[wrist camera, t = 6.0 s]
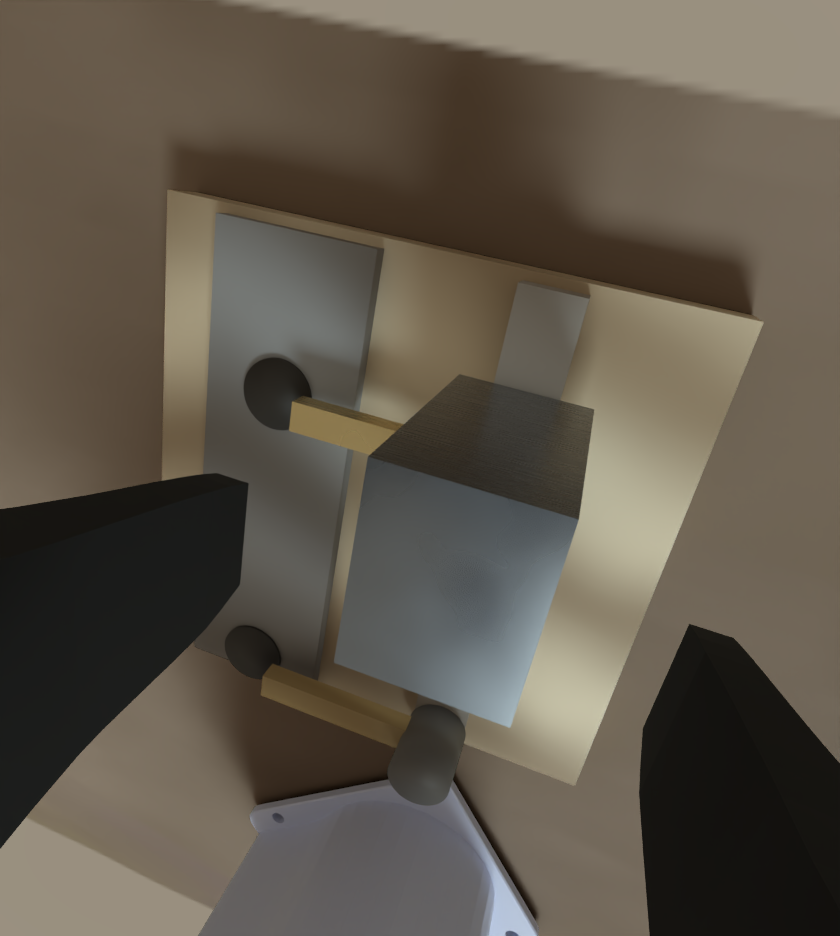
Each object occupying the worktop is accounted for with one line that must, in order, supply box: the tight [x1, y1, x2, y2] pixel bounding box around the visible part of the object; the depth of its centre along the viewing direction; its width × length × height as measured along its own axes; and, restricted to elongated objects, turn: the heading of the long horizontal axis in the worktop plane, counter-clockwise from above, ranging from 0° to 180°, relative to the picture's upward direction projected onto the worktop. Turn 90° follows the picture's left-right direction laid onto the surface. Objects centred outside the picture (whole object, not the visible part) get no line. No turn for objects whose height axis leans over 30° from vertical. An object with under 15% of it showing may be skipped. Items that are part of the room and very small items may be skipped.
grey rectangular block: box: [289, 374, 594, 728], centre depth 13 cm, size 4×7×6 cm, turn 79°
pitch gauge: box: [162, 189, 764, 806], centre depth 17 cm, size 14×15×4 cm
